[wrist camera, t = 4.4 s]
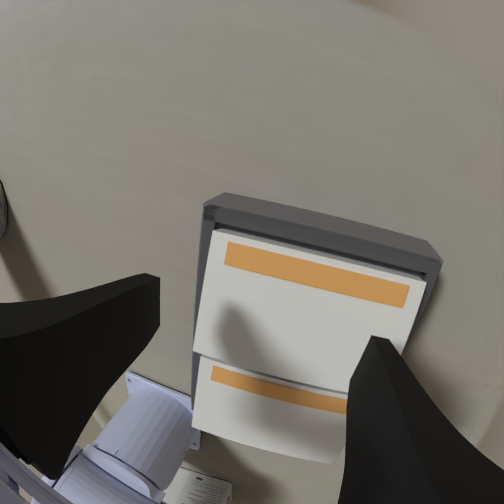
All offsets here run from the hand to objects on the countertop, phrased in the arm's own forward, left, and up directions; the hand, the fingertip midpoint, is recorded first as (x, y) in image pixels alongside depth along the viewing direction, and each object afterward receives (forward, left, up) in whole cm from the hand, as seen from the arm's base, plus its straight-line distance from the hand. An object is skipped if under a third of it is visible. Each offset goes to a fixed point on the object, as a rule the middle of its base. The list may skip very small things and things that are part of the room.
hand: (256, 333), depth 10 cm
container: (-37, +3, -9) cm, 38 cm away
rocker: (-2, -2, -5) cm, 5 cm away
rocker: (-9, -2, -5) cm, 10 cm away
